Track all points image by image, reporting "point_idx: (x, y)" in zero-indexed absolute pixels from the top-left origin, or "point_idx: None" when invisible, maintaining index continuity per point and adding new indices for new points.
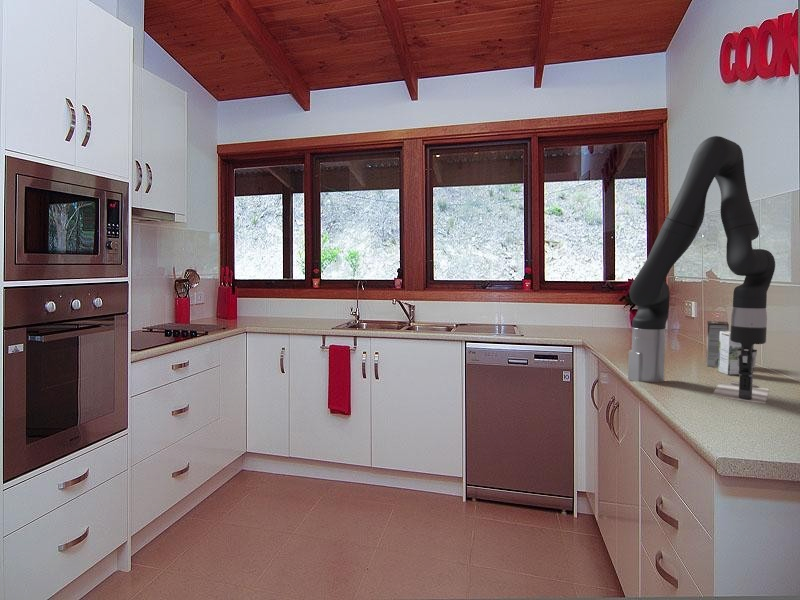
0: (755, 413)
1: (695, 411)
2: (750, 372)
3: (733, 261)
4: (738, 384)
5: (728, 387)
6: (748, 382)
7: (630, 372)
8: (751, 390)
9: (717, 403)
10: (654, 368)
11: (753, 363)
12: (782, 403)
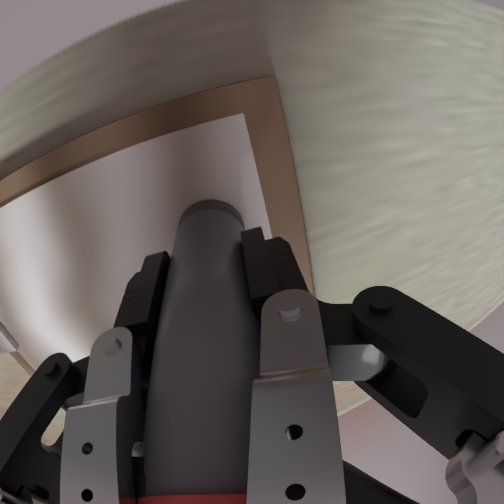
0: (411, 120)
1: (483, 269)
2: (422, 307)
3: None
4: (2, 330)
5: (66, 341)
6: (288, 267)
7: None
8: (213, 226)
9: (346, 278)
10: None
11: (334, 430)
12: (59, 99)
